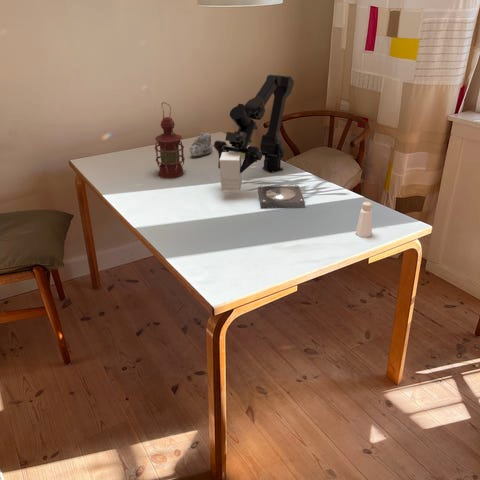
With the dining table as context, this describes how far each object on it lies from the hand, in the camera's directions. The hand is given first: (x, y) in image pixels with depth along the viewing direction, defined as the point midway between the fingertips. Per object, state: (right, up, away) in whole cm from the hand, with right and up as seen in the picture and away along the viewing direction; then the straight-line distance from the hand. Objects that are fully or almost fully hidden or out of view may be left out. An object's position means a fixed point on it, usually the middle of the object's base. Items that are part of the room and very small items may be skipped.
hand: (229, 170), depth 194 cm
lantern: (-25, +2, +27) cm, 37 cm away
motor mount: (+19, -11, +2) cm, 22 cm away
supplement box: (+1, -6, +4) cm, 7 cm away
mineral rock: (-15, +14, +50) cm, 54 cm away
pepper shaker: (+44, -24, -23) cm, 56 cm away
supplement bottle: (+5, +12, +47) cm, 49 cm away
